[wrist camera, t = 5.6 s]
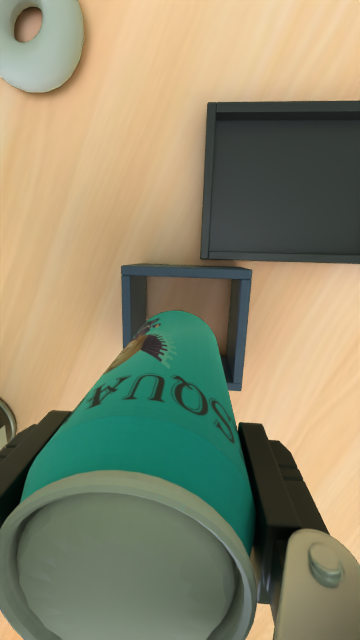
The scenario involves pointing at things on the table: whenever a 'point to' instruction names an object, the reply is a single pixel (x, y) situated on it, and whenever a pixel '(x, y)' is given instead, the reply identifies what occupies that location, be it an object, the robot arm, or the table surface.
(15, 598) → the beverage can
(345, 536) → the table surface
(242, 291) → the caddy
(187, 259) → the table surface
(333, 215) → the tray
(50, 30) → the donut
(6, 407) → the robot arm
